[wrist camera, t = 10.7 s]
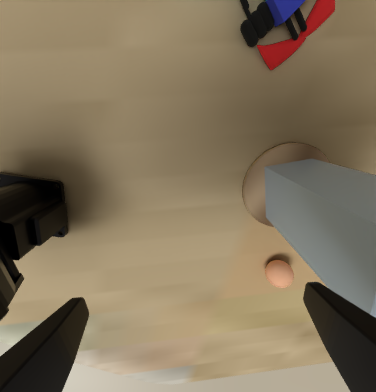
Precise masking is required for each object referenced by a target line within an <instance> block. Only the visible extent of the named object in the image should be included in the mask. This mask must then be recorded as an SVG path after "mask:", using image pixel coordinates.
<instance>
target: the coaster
mask: <svg viewBox="0 0 376 392" xmlns="http://www.w3.org/2000/svg"><path fill="white" fill-rule="evenodd" d="M307 159H316V160H320V161H323V162H327V163H330V162H329V160H328V159H327V157H326V156H325V155H324V154H323V153H322V152H321V151H320V150H318V149H317V148H315V147H313V146H310V145H306V144H301V143H286V144H281V145H278V146H275V147H273V148H271V149H269V150H267V151H266V152H264V153H263V154H262V155H260V156H259V157H258V158H257V159H256V160H255V161H254V163H253V164H252V165H251V167H250V168H249V170H248V172H247V174H246V176H245V179H244V182H243V189H242V193H243V200H244V203H245V206H246V208H247V209H248V211H249V212H250V213H251V215H252V216H253V217H254V218H255V219H256V220H258V221H259V222H261V223H263V224H265V225H268V226H272V227H274V226H273V225H272V223H271V222H270V221H269V220H268V219H267V218H266V204H265V168H264V167H266V166H272V165H277V164H283V163H289V162H295V161H301V160H307Z"/></svg>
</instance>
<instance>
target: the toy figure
mask: <svg viewBox="0 0 376 392" xmlns="http://www.w3.org/2000/svg"><path fill="white" fill-rule="evenodd" d="M240 1H241V4H242V6H243V9H244V11H245V13H246V16H247V18H248V20H245V21H243V23H242V24H241V28H240V30H241V33H242V35H243V37H244V39H245V41H246V42H247V44H248V46H250V47H253V46H255V45H256V44H257V42H258V38H262V37H264V36H265V34H266V33H267V31H269V30H271V29H272V28H273V26H275V27H276V26H278V25H280V24H282V23H284V22H285V24H286V26H287V28H288V30H289V32H290V34H291V36H292V39H289V40H285V41H282V42H278V43H275V44H270V45H265V46H261V45H257V47H258V49H259V51H260V53H261V55H262V57H263V59H264V61H265V63H266V64H267V66H268V67H269V69H270V70H273V69H274V68H275V67H277V66H278V65H279V64H281V63H282V62H283V61H284V60H286V59H287V58H288V57H290V56H291V55H292V54H293V53H294V52H295V51H296V50H297V49H298V48H299V47H300V46H301V44H302V43H303V42H304V41H305V39H306V38H305V37H307V36H308V35H310V34H311V33H312V32H314V31H315V30H316V29H317V28H318V27H319V26H320V25H321V24H322V23H323V22H324V21H325V20H326V19H327V18H328V17H329V16H330V15H331V14H332V13H333V12H334V10H335V0H317V1H316V3H315V5H314V7H313V9H312V11H311V12H310V14H309V16H308V18H307V20H306V22H305V20H304V18H303V15H302V13H301V11H300V8H299V7H300V6H301V5H302V3H303V2H304V1H305V0H265V1H266V2H262V3H260V4H259V5H258V7H257V10H256V11H254V12H253V13H252V14H250V12H249V10H248V8H249V4H248V1H247V0H240ZM293 13H294V15H295V17H296V19H297V22H298V24H299V26H300V28H301V32H300V34H299V37H298V34H297V32H296V30H295V27H294V25H293V23H292V21H291V19H290V16H291V15H292V14H293Z"/></svg>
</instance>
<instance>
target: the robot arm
mask: <svg viewBox="0 0 376 392" xmlns="http://www.w3.org/2000/svg"><path fill="white" fill-rule="evenodd" d="M0 178H1V179H0V321H1V320H2V319H3V318H4V317H5V316H6V314H7V313H8V311H9V308H8V305H9V304H10V302H11V300H12V299H13V297H14V295H15V293H16V292H17V290H18V288H19V287H20V285H21V283H22V282H23V280H24V277H23V275H22V274H21V273H19V271H18V269H17V267H16V265H15V263H14V261H13V260H19V259H20V258H22V257H23V256H24V255H25V254H27V253H28V252H29V251H30V250H32V249H33V248H34V247H35V246H40V245H42V244H43V243H44V242H45V241H47V240H48V239H49V238H50V237H52V236H55V237H64V236H65V235H66V234H67V210H66V202H65V197H64V186H63V183H62V182H61V181H58V180H51V179H44V178H36V177H29V176H22V175H15V174H8V173H0ZM56 184H57V185H58V186H59V188H58V187H57V186H56ZM60 231H61V232H62V233H61V232H60ZM303 300H304V303H305V306H306V308H307V310H308V312H309V314H310V316H311V318H312V321H313V323H314V325H315V327H316V329H317V331H318V333H319V336H320V338H321V340H322V342H323V344H324V346H325V348H326V350H327V351H328V353H329V355H330V357H331V358H332V360H333V362H334V363H335V365H336V367H337V369H338V371H339V372H340V374H341V376H342V378H343V379H344V381H345V383H346V384H347V386H348V388H349V390H350V391H351V392H376V318H375V317H374V316H372V315H370V314H369V313H367V312H366V311H364V310H362V309H361V308H359V307H358V306H356V305H354V304H353V303H351V302H350V301H348V300H346V299H345V298H343V297H342V296H340V295H338V294H337V293H335V292H334V291H332V290H330V289H329V288H327V287H325V286H324V285H322V284H321V283H319V282H308V283H307V284H306V286H305V291H304V296H303ZM88 317H89V311H88V308H87V305H86V302H85V300H84V298H83V297H78V298H72V299H70V300H69V301H68V302H67V303H65V304H64V305H63V306H62V307H60V308H59V309H58V310H57V311H56V312H54V313H53V314H52V315H51V316H49V317H48V318H47V319H46V320H45V321H43V322H42V323H41V324H40V325H38V326H37V327H36V328H35V329H33V330H32V331H31V332H30V333H29V334H27V335H26V336H25V337H24V338H22V339H21V340H20V341H19V342H18V343H16V344H15V345H14V346H13V347H11V348H10V349H9V350H8V351H7V352H5V353H4V354H3V355H2V356H0V392H62V390H63V388H64V385H65V383H66V380H67V378H68V376H69V373H70V371H71V368H72V366H73V363H74V360H75V357H76V355H77V351H78V348H79V345H80V342H81V339H82V336H83V333H84V330H85V327H86V323H87V320H88Z"/></svg>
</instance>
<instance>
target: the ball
mask: <svg viewBox="0 0 376 392" xmlns="http://www.w3.org/2000/svg"><path fill="white" fill-rule="evenodd" d="M265 274H266V277H267V279H268V281H269V282H270V283H271V284H272V285H274V286H276V287H280V288H284V287H288V286H289V285H290V284H291V283H292V282H293V279H294V273H293V270H292V268H291V267H290V266H289V265H288V264H287V263H286V262H284V261H281V260H274V261H271V262H270V263H268V265H267V266H266V270H265Z"/></svg>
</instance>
